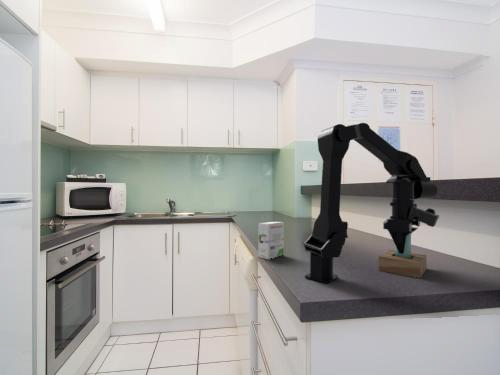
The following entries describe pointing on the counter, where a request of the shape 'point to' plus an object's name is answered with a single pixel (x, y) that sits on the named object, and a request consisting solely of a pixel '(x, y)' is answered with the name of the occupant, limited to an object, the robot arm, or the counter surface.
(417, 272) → the socket block
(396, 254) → the peg
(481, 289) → the counter surface
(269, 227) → the ink box
